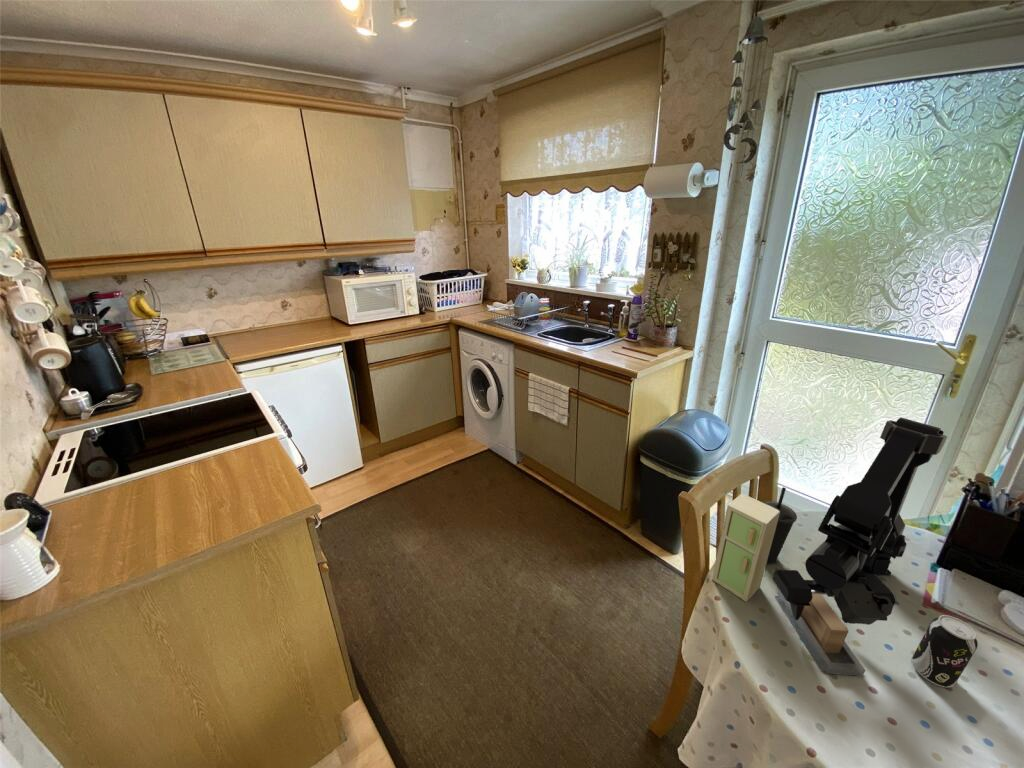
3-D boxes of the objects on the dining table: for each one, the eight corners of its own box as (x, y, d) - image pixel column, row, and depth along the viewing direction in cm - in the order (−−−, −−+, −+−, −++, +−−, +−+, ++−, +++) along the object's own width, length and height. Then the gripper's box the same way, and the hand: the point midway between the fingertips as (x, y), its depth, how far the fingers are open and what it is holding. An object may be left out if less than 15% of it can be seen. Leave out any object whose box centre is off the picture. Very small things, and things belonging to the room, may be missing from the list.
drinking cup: (745, 560, 99) (764, 491, 92) (748, 540, 105) (765, 474, 98) (782, 573, 95) (805, 502, 88) (782, 552, 101) (803, 484, 94)
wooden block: (794, 610, 86) (802, 589, 83) (810, 611, 85) (818, 590, 83) (822, 652, 77) (831, 629, 75) (839, 653, 77) (848, 630, 75)
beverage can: (917, 682, 73) (943, 634, 68) (904, 653, 78) (927, 607, 73) (960, 696, 70) (990, 647, 66) (944, 665, 75) (970, 618, 71)
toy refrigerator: (708, 580, 93) (725, 505, 86) (724, 565, 98) (742, 492, 90) (744, 604, 87) (766, 526, 80) (760, 587, 92) (782, 511, 84)
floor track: (773, 595, 90) (775, 588, 89) (808, 597, 89) (810, 590, 88) (823, 674, 74) (826, 667, 73) (865, 677, 73) (868, 670, 73)
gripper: (816, 592, 68) (793, 656, 73) (937, 598, 66) (903, 664, 72) (780, 543, 78) (762, 603, 84) (884, 548, 77) (858, 608, 82)
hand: (819, 619), depth 80 cm, fingers open, 9 cm apart
